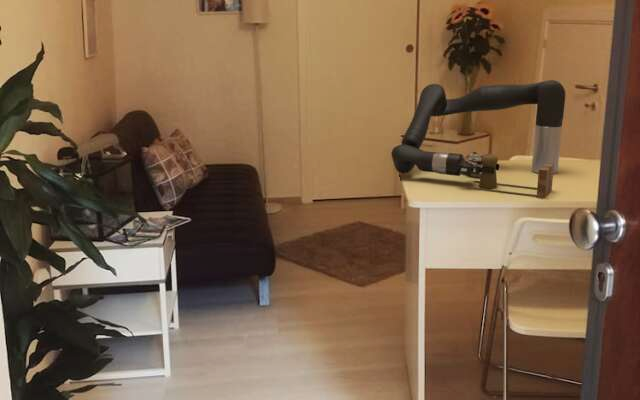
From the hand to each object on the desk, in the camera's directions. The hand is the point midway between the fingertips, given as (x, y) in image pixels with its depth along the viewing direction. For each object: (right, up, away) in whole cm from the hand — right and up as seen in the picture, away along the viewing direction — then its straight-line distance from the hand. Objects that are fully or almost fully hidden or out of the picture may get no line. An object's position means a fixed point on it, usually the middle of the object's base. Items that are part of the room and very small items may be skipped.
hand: (496, 168), depth 236 cm
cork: (-2, -6, +3) cm, 7 cm away
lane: (+3, -7, 0) cm, 7 cm away
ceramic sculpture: (-3, -1, +22) cm, 22 cm away
